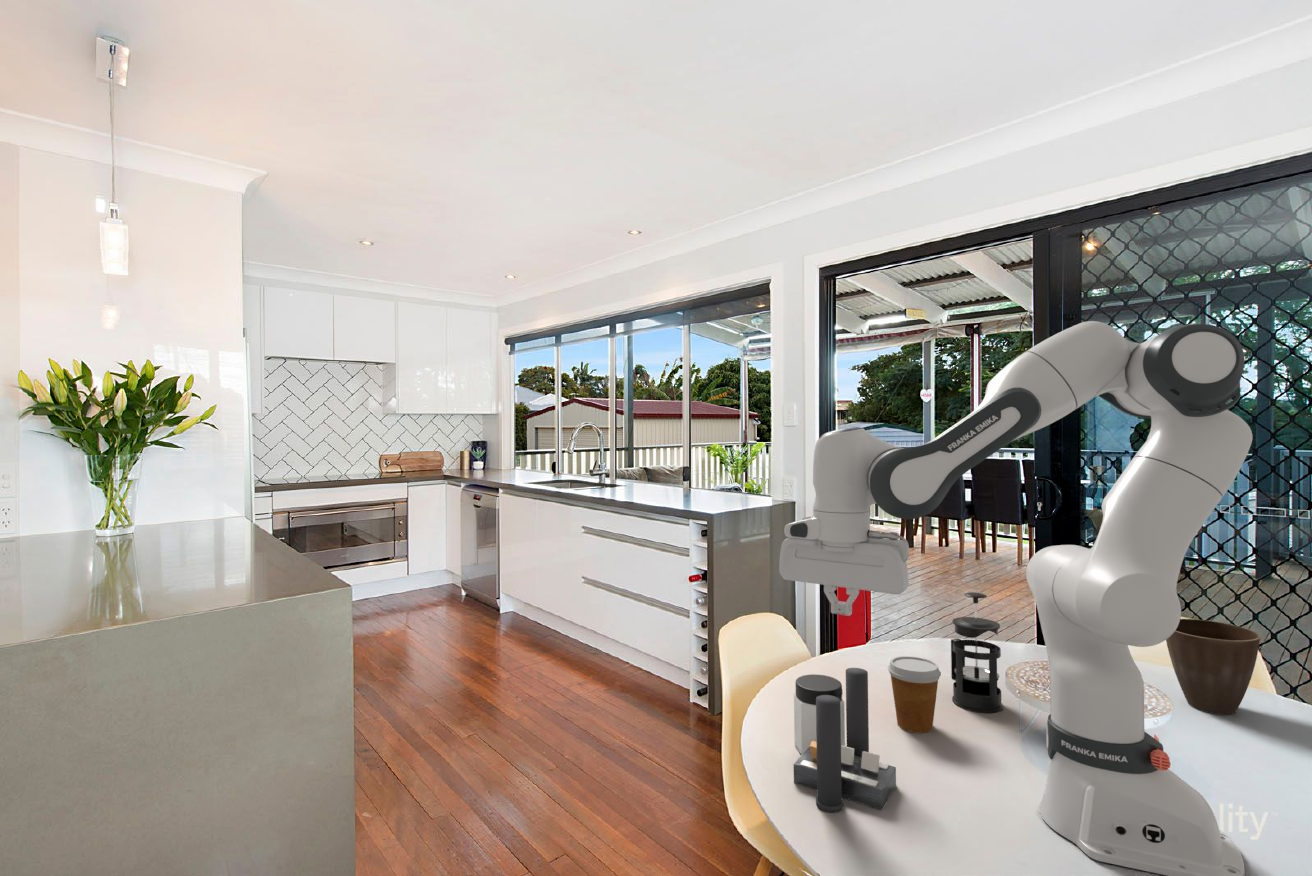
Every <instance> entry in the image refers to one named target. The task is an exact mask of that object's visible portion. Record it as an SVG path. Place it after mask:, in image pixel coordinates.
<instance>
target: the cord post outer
mask: <svg viewBox="0 0 1312 876" xmlns="http://www.w3.org/2000/svg"><path fill="white" fill-rule="evenodd" d="M816 742H817V791H816V796H815V804H816V807H817V809H819V810H821V811H822V812H826V813H829V814H830V813H832V814H833V813H834V814H835V813H839V812H841V811H842V810H843V809H844V798H842V780H841V711H840V699H839V698H837V697H835V696H831V695H820V696H818V697H816Z"/></svg>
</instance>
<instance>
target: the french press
mask: <svg viewBox="0 0 1312 876" xmlns="http://www.w3.org/2000/svg"><path fill="white" fill-rule="evenodd" d="M964 596H965V597H968V598H972V603H973V604H974V616H972V617H971V616H959V617H955V618H953V619H952V620H951V621H952V624H953V625H954V632H955V633H956V634H958V635H959V636H962V637H965V638H970V639H960V638H951V640H950V662H951V663H950V664H951V666H950V667H951V668H950V670H951V671H950V672H951V680H953V681H955V682H953V684H952V685H953V686H952V688H953V689H952V691H953V692H952V693H953V695H952V699H951V700H952V702H953V704H954V705H956V706H957V707H959V708H961V709H963V710H967V711H969V712H975V713H980V714H995V713H998V712H1000V711H1002V710H1003V708H1004V707H1003V705H1004V704H1003V702H1002V690H1001V688H1000V687H998V680H999V679H1000V675H999V673H998V659H999V658H1001V656H1002V652H1001V651H1002V650H1001V647H1000V646H999V645H997V644H995V643H991V642H988V641H985V640H979V639H978V637H979V636H981V635H984V634H985V633H987V632H992V633H994V634H996V635H997V636H998V635H999V630H1000V629H1001V624H1000V623H998V622H997V621H994V620H990V619H987V618H983V617H978V612H977V611H978V610H977V607H978V605H977V604H979V599H985V598H987V597H988V596H987V595H986V594H984V593H983V592H982V593H981V592H974V591H971V592H970V591H969V592H965V593H964ZM966 647H975V649H974V650H975V652H974V651H968V650H966V649H965V648H966ZM978 647H979V648H984V649H988V650H989V652H978ZM966 658H968V659H972V660H975V665H966ZM978 660H981V661H982V660H983V661H988V668H986V667H982V666H979V665H978V664H979V662H978Z"/></svg>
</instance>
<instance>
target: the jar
mask: <svg viewBox="0 0 1312 876" xmlns="http://www.w3.org/2000/svg"><path fill="white" fill-rule="evenodd" d="M820 695H831V696H835V697H837V698H839V699H840V711H841V745H843V746H846V735H845V733H846V723H845V722H846V718H845V717H846V716H845V715H846V713H845V700H844V699H843V685H842V682H841V681H840V680H839V679H837V678H835V677H832V676H830V675H829V676H828V675H825V674H814V673H813V674H805V675H801V676H799V677H797V678H796V679H795V692H793V713H794V714H793V715H794V716H793V717H794V718H793V719H794V721H793V724H794V725H793V726H794V727H793V728H794V734H793V735H794V745H795V747H796V748H797V750H798V751H799V753H800V756H801V755H802V754H803V753H804V752H805V751H806V750H807V749H808V748H809V747H810V744H811V742H812V741H816V697H818V696H820Z"/></svg>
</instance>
